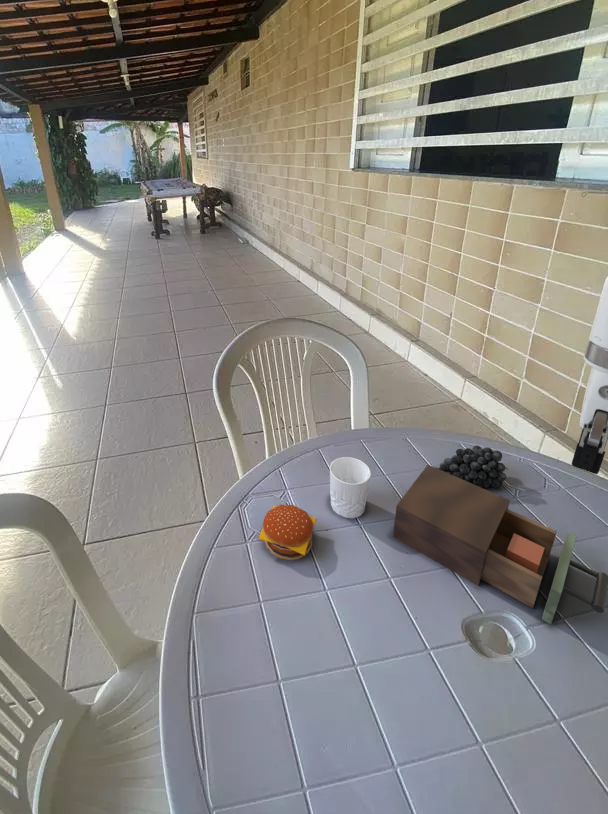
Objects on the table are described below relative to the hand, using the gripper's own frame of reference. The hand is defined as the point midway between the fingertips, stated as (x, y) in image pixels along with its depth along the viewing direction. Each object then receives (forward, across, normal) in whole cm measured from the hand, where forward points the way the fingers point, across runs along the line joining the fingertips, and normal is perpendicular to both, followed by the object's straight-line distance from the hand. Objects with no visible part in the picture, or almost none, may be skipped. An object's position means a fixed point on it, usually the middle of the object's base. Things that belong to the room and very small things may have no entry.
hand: (588, 456), depth 67 cm
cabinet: (+22, -8, +16) cm, 28 cm away
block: (+20, -8, +4) cm, 22 cm away
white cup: (+23, -14, +33) cm, 42 cm away
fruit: (+23, +10, +18) cm, 31 cm away
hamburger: (+23, -29, +37) cm, 52 cm away
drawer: (+21, -8, +3) cm, 23 cm away
